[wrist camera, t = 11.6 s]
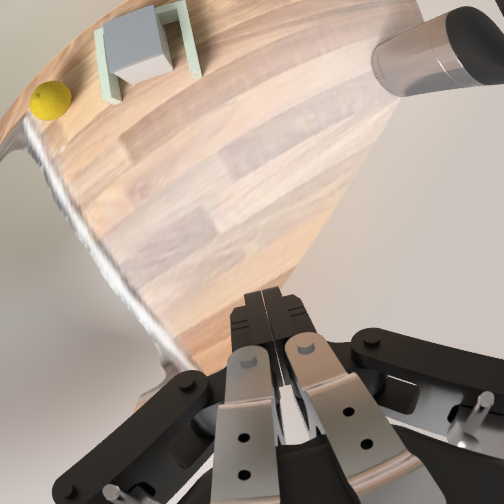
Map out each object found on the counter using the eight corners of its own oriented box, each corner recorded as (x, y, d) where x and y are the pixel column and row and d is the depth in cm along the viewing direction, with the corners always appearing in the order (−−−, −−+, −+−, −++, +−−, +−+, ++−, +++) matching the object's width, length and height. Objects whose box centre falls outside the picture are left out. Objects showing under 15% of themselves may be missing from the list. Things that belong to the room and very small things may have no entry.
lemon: (78, 80, 29) (50, 69, 21) (82, 113, 31) (53, 107, 23) (49, 95, 29) (18, 89, 21) (53, 127, 31) (21, 126, 23)
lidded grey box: (165, 29, 28) (153, 4, 20) (174, 71, 31) (162, 52, 23) (123, 44, 28) (102, 24, 20) (131, 86, 30) (109, 72, 23)
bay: (188, 12, 27) (185, -1, 24) (202, 77, 31) (200, 69, 27) (104, 39, 27) (94, 31, 23) (114, 104, 31) (103, 100, 27)
